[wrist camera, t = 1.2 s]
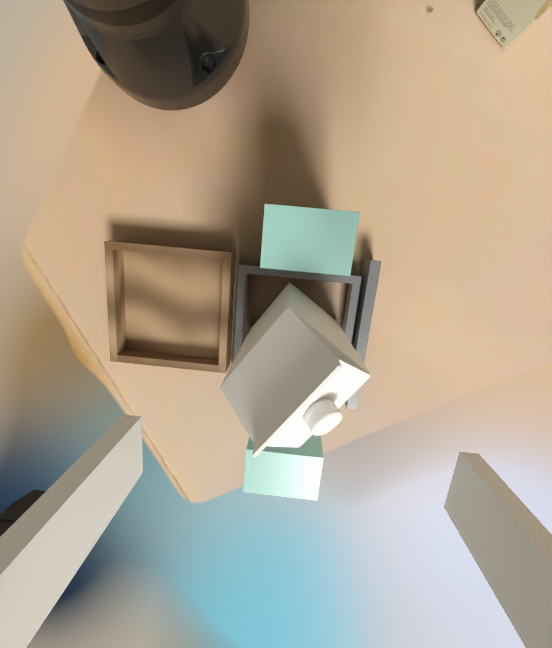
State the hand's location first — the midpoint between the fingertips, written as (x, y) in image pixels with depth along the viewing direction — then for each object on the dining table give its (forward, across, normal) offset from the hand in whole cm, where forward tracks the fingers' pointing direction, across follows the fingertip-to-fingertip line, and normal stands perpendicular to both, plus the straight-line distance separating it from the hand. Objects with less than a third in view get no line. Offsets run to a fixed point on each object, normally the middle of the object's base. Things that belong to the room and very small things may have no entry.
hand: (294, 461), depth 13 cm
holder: (+22, 0, 0) cm, 22 cm away
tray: (+22, -14, +1) cm, 26 cm away
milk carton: (+23, 0, 0) cm, 23 cm away
